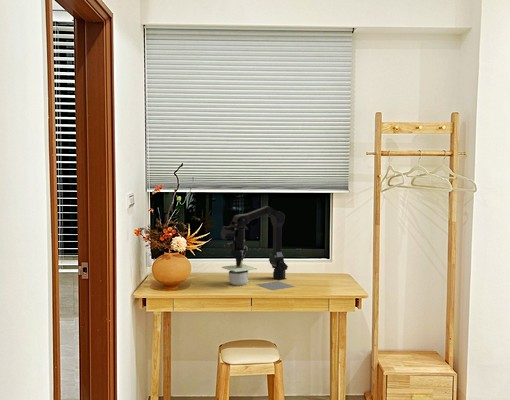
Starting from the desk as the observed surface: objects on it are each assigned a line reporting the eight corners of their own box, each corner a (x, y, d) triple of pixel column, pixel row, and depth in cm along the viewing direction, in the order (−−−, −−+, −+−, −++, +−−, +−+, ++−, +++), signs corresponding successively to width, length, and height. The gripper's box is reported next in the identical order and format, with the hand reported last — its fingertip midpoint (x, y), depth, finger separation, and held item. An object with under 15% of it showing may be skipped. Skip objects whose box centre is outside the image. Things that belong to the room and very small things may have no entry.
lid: (242, 265, 331) (242, 257, 331) (256, 269, 320) (256, 261, 319) (221, 267, 323) (221, 259, 323) (235, 272, 312) (235, 263, 311)
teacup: (245, 287, 314) (245, 273, 314) (226, 286, 316) (226, 272, 316) (251, 282, 328) (251, 268, 327) (232, 281, 330) (232, 267, 329)
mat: (277, 282, 329) (277, 281, 329) (295, 287, 316) (295, 286, 316) (255, 285, 320) (255, 284, 320) (272, 291, 307) (272, 290, 307)
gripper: (228, 235, 331) (228, 262, 332) (221, 239, 312) (221, 268, 313) (247, 235, 329) (247, 263, 330) (241, 240, 310) (241, 269, 312)
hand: (239, 265), depth 321 cm, fingers closed on lid, 3 cm apart
